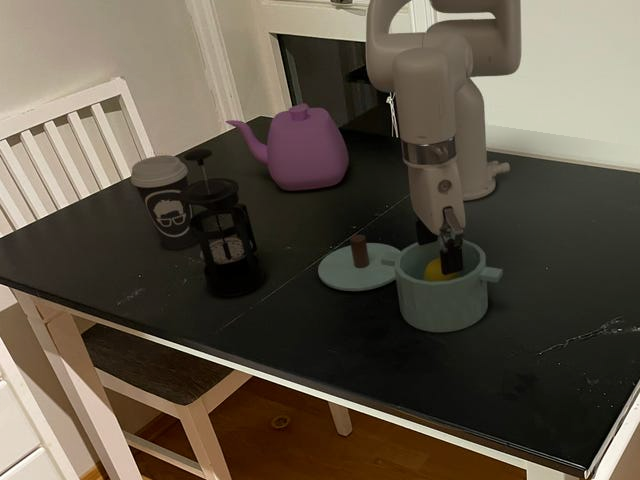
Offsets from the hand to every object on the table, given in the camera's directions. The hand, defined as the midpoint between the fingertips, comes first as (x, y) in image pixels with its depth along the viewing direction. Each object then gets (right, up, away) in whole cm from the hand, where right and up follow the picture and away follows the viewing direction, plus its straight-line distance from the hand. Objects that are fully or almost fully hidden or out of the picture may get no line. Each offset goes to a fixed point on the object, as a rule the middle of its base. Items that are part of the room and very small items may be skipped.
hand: (439, 257), depth 110 cm
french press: (-35, -2, +15) cm, 38 cm away
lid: (-14, 0, +15) cm, 20 cm away
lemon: (0, -7, +6) cm, 9 cm away
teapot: (-30, +23, +46) cm, 60 cm away
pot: (0, -7, +5) cm, 9 cm away
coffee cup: (-50, +7, +27) cm, 57 cm away
